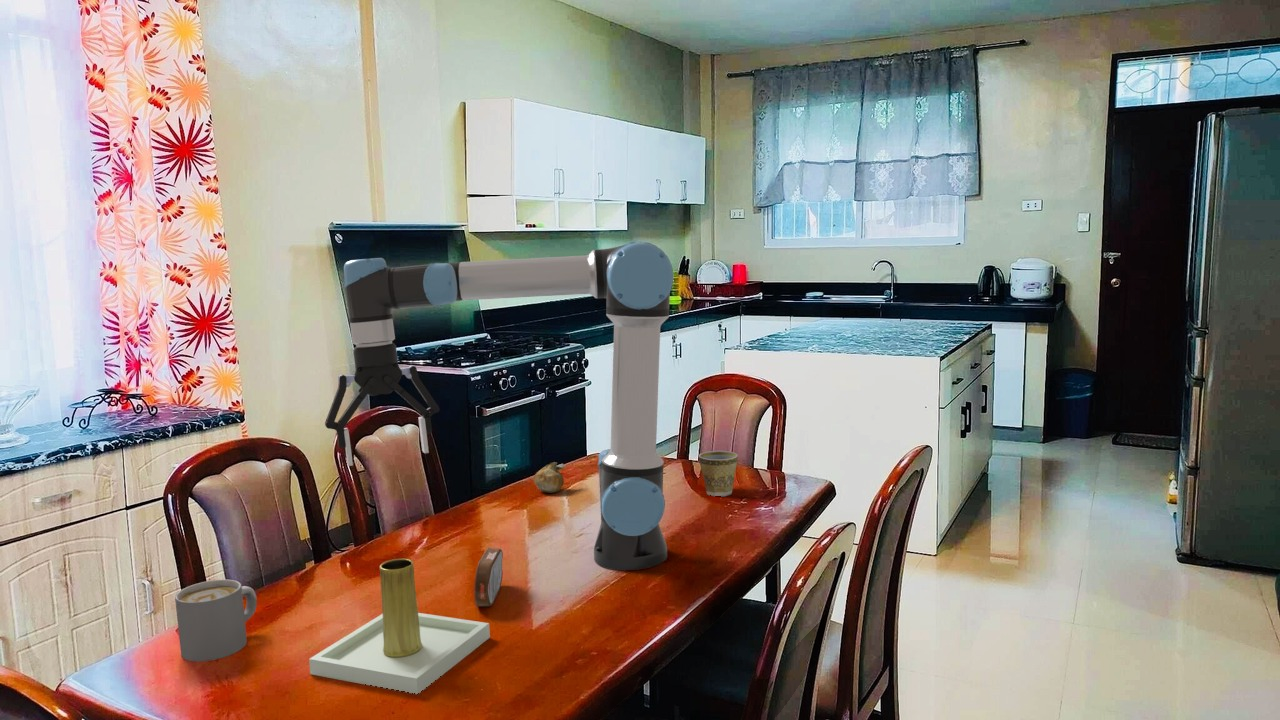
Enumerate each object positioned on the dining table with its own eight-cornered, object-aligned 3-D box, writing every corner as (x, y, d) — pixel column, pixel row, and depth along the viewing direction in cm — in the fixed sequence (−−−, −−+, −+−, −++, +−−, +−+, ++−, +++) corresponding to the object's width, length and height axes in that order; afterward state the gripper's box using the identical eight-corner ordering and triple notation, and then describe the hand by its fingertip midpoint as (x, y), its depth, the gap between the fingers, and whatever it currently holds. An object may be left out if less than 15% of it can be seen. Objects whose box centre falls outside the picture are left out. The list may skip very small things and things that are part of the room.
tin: (490, 582, 174) (488, 541, 173) (506, 582, 174) (504, 540, 173) (473, 614, 159) (470, 569, 158) (491, 614, 159) (488, 568, 158)
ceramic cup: (740, 498, 225) (739, 459, 223) (700, 499, 225) (699, 460, 224) (735, 484, 238) (734, 447, 236) (698, 485, 238) (697, 448, 236)
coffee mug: (198, 667, 142) (191, 607, 141) (170, 651, 148) (164, 593, 147) (277, 637, 152) (272, 580, 151) (248, 623, 159) (243, 569, 157)
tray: (489, 637, 149) (489, 623, 149) (417, 694, 131) (416, 678, 131) (391, 622, 157) (390, 608, 156) (310, 674, 138) (309, 658, 138)
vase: (429, 643, 146) (423, 559, 144) (408, 660, 140) (401, 572, 138) (397, 639, 147) (391, 556, 146) (375, 655, 142) (368, 569, 140)
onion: (538, 488, 241) (537, 459, 240) (567, 488, 240) (566, 459, 239) (531, 495, 233) (529, 466, 232) (561, 496, 232) (559, 466, 231)
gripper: (438, 335, 170) (451, 443, 173) (300, 351, 161) (315, 466, 163) (446, 336, 164) (459, 450, 166) (302, 353, 154) (318, 473, 156)
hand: (388, 458), depth 165 cm, fingers open, 13 cm apart
